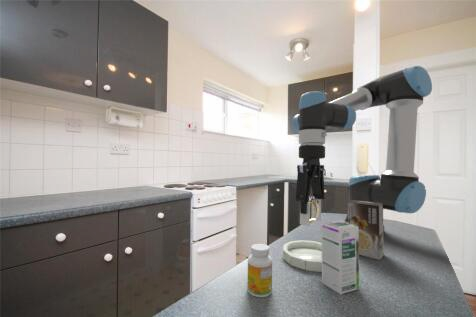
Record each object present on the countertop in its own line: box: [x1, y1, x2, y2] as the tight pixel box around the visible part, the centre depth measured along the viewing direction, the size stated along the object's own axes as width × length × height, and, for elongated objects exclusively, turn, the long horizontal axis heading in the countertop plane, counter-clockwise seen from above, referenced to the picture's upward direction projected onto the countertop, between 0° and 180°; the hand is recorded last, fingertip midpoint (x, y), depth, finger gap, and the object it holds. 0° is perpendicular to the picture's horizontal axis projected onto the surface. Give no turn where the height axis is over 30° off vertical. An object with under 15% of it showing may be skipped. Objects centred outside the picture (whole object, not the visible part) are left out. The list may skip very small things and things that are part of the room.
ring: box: [308, 195, 320, 225], centre depth 67 cm, size 7×3×8 cm, turn 119°
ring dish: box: [282, 239, 322, 273], centre depth 67 cm, size 16×16×2 cm
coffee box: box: [347, 200, 385, 261], centre depth 72 cm, size 9×6×16 cm
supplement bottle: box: [247, 243, 273, 298], centre depth 50 cm, size 5×5×10 cm
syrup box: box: [321, 219, 360, 296], centre depth 53 cm, size 6×6×14 cm
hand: (310, 222), depth 67 cm, fingers closed on ring, 7 cm apart
